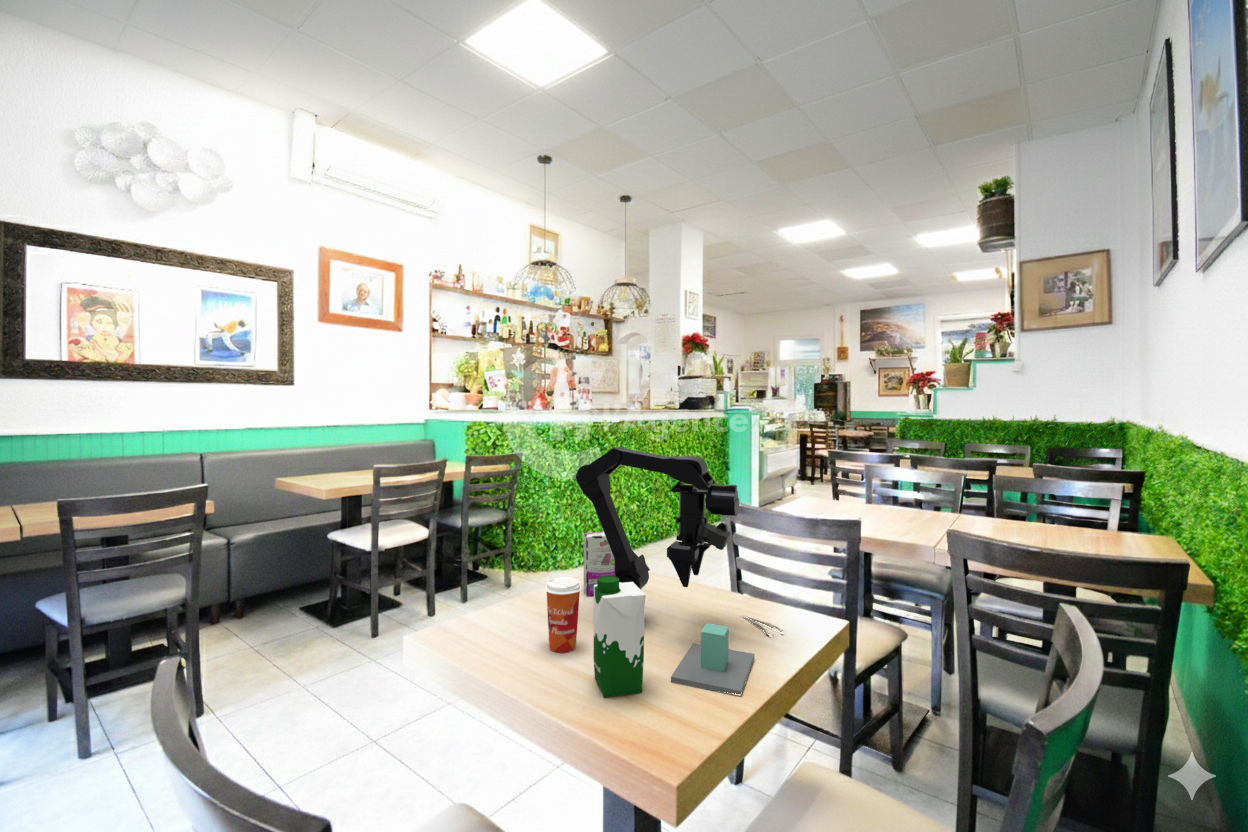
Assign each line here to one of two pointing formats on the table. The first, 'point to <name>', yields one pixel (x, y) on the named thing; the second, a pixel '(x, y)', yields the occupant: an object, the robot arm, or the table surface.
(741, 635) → the table surface
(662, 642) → the table surface
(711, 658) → the block
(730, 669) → the board
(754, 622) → the tweezers
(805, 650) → the table surface
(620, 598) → the milk carton
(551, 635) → the paper cup
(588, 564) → the candy bar box
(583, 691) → the table surface
